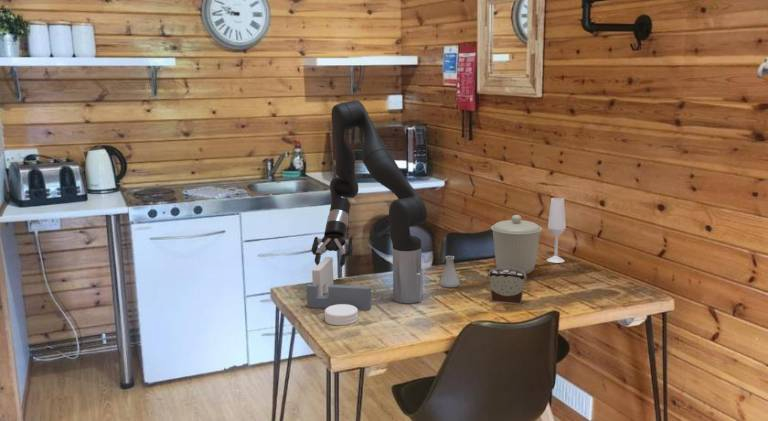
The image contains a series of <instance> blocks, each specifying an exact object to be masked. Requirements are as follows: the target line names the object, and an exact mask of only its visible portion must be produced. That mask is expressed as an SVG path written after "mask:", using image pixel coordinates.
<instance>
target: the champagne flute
mask: <svg viewBox="0 0 768 421" xmlns="http://www.w3.org/2000/svg"><path fill="white" fill-rule="evenodd" d="M550 199H551V200H550V205H549V207H550V208H549V214H548V222H547V229H548V232H550V233H551V234H552V235H553V236H554V251H553V252H554V253H553V254H554V255H553V256H550V257H549V258H546V261H547V262H549V263H557V264H559V263H564V262H565V259H563V257H560V256H559V255H558V252H559V251H558V250H559V248H558V247H559V244H558V243H559V236H560V235H562V234H563V233H564V232H565V231H566V228H567V223H566V221H567V220H566V208H565V206H566V205H565V198H563V197H552V198H550Z"/></svg>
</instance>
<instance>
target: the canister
mask: <svg viewBox="0 0 768 421" xmlns="http://www.w3.org/2000/svg"><path fill="white" fill-rule="evenodd" d="M490 230H491V231H492V238H493V239H492V240H493V248H494V256H495V264H496V265H495V266H496V268H516V269H520V270H522V271H524V272H525V274H526V275H528V274H530V273H532V272H533V271H534V269H535V267H536V263H537V256H538V249H539V242H540V235H541V232H542V231H543V228H542V226H541V225H539V224H537V223H536V222H532V221H529V220H522V216H521V215H519V214H514V215H512V216H511V219H508V220H501V221H500V220H499V221H497V222H496V223H494V224H492V225H491V226H490Z"/></svg>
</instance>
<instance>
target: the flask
mask: <svg viewBox="0 0 768 421" xmlns="http://www.w3.org/2000/svg"><path fill="white" fill-rule="evenodd" d="M444 259H445V267H444V270H443V272H442V276H441V279H440V281H439V287H444V288H457V287H459V286H460V285H461V284H460V279H459V277H458V274H457V272H456V268H455V263H454V261H455V256H454V255H446V256H445V258H444Z"/></svg>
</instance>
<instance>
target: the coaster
mask: <svg viewBox="0 0 768 421" xmlns="http://www.w3.org/2000/svg"><path fill="white" fill-rule="evenodd" d="M358 312H359V310H358V309H357V308H356V307H355V306H352V305H347V304H338V305H332V306H329V307H328V308H324V321H325V322H326V323H327V324H329V325H332V326H348V325H352V324H355V323H357V321H358V320H359V313H358Z"/></svg>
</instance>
